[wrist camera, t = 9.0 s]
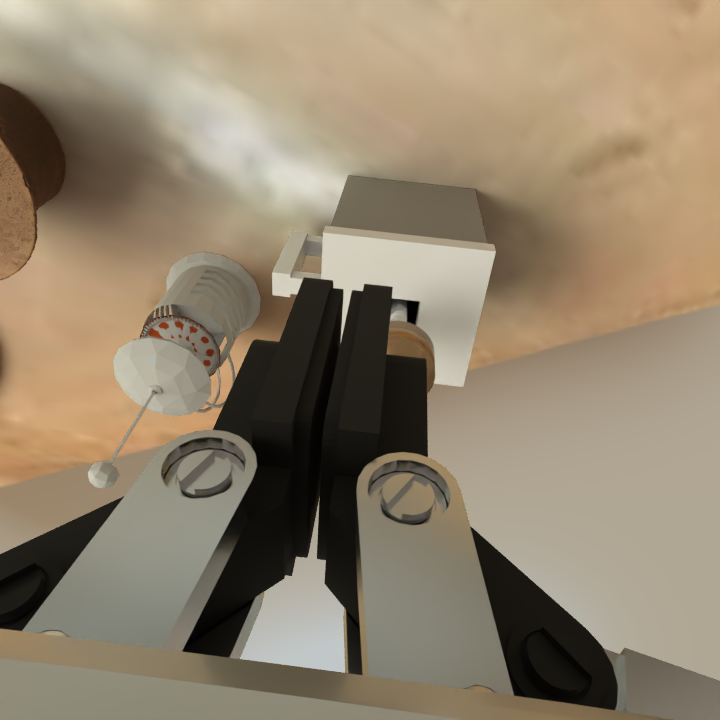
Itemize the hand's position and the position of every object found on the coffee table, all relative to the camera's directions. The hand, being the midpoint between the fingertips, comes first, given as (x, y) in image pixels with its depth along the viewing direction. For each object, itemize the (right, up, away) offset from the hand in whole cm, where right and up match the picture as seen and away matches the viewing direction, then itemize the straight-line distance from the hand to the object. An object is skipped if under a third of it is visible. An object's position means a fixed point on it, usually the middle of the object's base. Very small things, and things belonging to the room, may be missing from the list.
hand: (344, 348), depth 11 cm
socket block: (+2, +11, +40) cm, 42 cm away
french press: (-14, +6, +46) cm, 49 cm away
